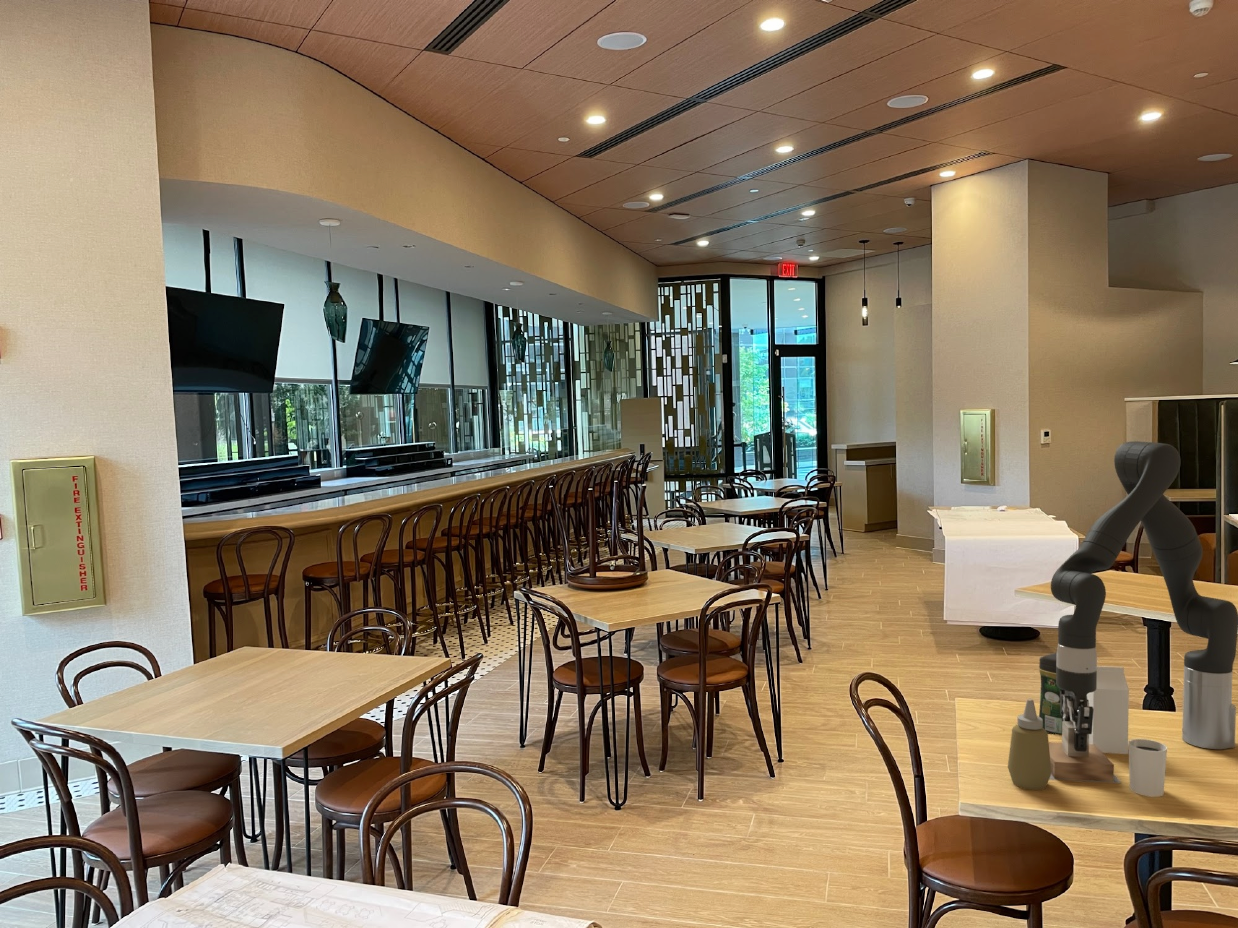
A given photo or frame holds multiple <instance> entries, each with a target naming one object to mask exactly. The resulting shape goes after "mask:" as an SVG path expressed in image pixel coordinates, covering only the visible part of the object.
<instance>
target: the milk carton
mask: <svg viewBox="0 0 1238 928" xmlns="http://www.w3.org/2000/svg"><path fill="white" fill-rule="evenodd" d="M1124 671H1125V668H1124V667H1123V666H1101V665H1100V666H1099V665H1097V688H1096V690H1095V691H1094V692H1090V693H1088V694H1087V700H1089V706H1090V707H1093V709H1094V711H1093V722H1092V734H1089V744H1095V745H1096V746H1097V747H1098V749H1099V750H1100V751H1101V752H1102V753H1103V754H1106V753H1107V754H1121V755H1129V745H1128V742H1129V709H1130V706H1129V705H1130V704H1129V702H1130V701H1129V700H1130V698H1129V697H1130V688H1129V685H1128V681H1127V679H1126V675H1125V672H1124Z"/></svg>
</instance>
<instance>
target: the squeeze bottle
mask: <svg viewBox="0 0 1238 928" xmlns="http://www.w3.org/2000/svg"><path fill="white" fill-rule="evenodd" d="M1023 710H1024V711H1023V714H1019V715H1018V716H1017V721H1016V723H1017V724H1016V725H1014V726H1013V727H1012V729H1011V737H1010V746H1009V753H1008V760H1007V762H1008V763H1007V770H1008V772H1009V775H1010V778H1011V781H1012V783H1013V785H1015V786H1016V787H1018V788H1021V789H1024V790H1028V791H1042V790H1044V789H1046V788H1047V786H1048V783H1049V780H1050V779H1049V778H1050V776H1051V773H1052V772H1051V762H1050V751H1049V742H1050V741H1049V733H1047V731H1046V730H1045V729H1043V728H1042V727H1043V720H1042V718H1040V717H1039V715H1037V711H1036V706H1035V701H1034V699H1031V698H1030V699H1029V698H1028V699H1026V702H1025V706H1024V709H1023Z"/></svg>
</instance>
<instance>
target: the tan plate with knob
mask: <svg viewBox="0 0 1238 928" xmlns="http://www.w3.org/2000/svg"><path fill="white" fill-rule="evenodd" d="M1077 723H1078V722H1077ZM1082 728H1084V724H1082ZM1074 733H1075V732H1074V725H1073V722H1070V721H1062V735H1061V742H1052V741H1051V742H1050V741H1049V751H1050V762H1051V772H1052V773H1051V775H1052V776H1053V777H1054V779H1071V780H1090V781H1109V782H1114V775H1115V772H1114V771H1115V764H1114V763H1113V762H1112V761H1111V760H1110V759H1109V758H1108V757H1107V756H1106V755H1105V753H1102V752H1101V751H1100V750H1099V749H1098V747H1097V746H1096V745H1095V744H1089V734H1087V750H1086V751H1085V752H1080V751H1076V750H1075V749H1074ZM1071 780H1070V781H1071ZM1090 781H1089V782H1090Z"/></svg>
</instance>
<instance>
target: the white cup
mask: <svg viewBox="0 0 1238 928" xmlns="http://www.w3.org/2000/svg"><path fill="white" fill-rule="evenodd" d="M1167 752H1168V747H1167V745H1165V744H1163V743H1162V742H1159V741H1157V740H1152V739H1147V738H1133V739H1130V740H1129V739H1128V769H1129V771H1128V774H1129V775H1128V776H1129V789H1130V790H1131V792H1133V793H1136V794H1137V795H1141V796H1144V797H1149V798H1150V797H1152V798H1153V797H1154V798H1156V797H1158V798H1159V797H1161V796H1162V797H1163V796H1164V795H1165V794H1164V793H1165V791H1164V790H1165V783H1166V782H1165V780H1166V768H1167V755H1168V754H1167Z"/></svg>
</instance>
